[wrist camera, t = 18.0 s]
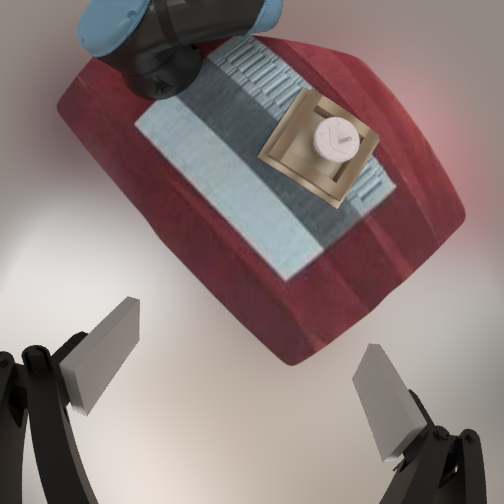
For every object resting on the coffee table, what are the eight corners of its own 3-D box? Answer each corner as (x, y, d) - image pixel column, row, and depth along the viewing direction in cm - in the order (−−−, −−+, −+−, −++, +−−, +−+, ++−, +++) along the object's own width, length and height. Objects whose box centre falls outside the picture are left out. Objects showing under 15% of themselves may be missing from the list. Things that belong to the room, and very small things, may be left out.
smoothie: (317, 172, 43) (340, 169, 30) (296, 139, 42) (311, 123, 29) (347, 154, 42) (381, 145, 29) (327, 122, 41) (353, 100, 27)
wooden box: (257, 157, 45) (256, 154, 39) (302, 89, 41) (307, 79, 36) (335, 208, 46) (344, 211, 41) (376, 140, 43) (389, 136, 37)
